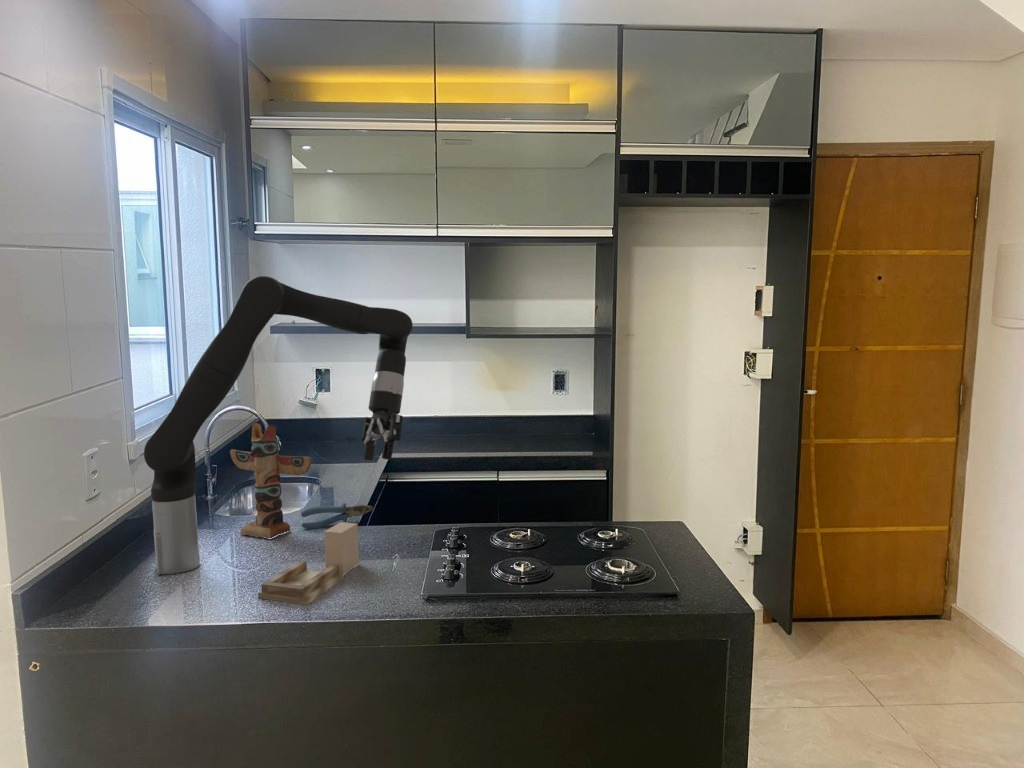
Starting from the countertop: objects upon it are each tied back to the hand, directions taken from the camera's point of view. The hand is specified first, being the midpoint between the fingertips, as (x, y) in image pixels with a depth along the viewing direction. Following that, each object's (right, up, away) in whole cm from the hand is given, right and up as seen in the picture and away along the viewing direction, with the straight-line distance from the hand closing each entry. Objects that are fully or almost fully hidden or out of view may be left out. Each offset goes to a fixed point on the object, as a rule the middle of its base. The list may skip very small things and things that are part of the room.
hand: (377, 459), depth 165 cm
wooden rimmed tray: (-14, -27, -12) cm, 33 cm away
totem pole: (-35, -23, +26) cm, 50 cm away
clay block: (-8, -25, -1) cm, 27 cm away
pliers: (-17, -22, +33) cm, 43 cm away
